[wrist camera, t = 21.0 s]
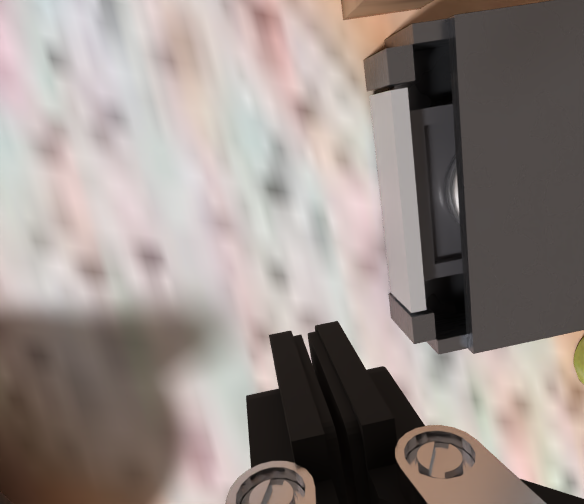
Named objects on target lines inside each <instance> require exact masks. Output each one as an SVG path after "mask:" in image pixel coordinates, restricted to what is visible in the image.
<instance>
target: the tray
mask: <svg viewBox="0 0 584 504" xmlns="http://www.w3.org/2000/svg"><path fill="white" fill-rule="evenodd" d="M369 97H370V106H371V116H372V125H373V134H374V144H375V153H376V162H377V172H378V181H379V191H380V200H381V209H382V219H383V228H384V238H385V247H386V256H387V266H388V275H389V284H390V292H391V293H392V294H393V295H394V296H395V297H396V298H397V299H398V300H399V301H400V302H401V303H402V304H403V305H404V306H405V307H406V308H407V309H408V310H409V311H410V312H411V313H414V312H419V311H424V310H426V299H425V287H424V281H425V280H430V279H435V278H440V277H445V276H450V275H455V274H460V273H463V267H462V251H461V234H460V225H459V224H458V223H457V222H456V221H455V220H454V219H453V217H452V216H451V214H450V212H449V210H448V208H447V205H446V202H445V197H444V181H445V175H446V171H447V169H448V166H449V164H450V162H451V160H452V158H453V156H454V155H455V153H456V152H455V135H454V119H453V103H452V104H446V105H440V106H434V107H428V108H421V109H415V110H409V99H408V88H402V89H396V90H390V91H386V92H382V93H378V94H374V95H370V96H369Z"/></svg>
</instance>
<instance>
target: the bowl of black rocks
mask: <svg viewBox="0 0 584 504" xmlns="http://www.w3.org/2000/svg"><path fill="white" fill-rule="evenodd" d="M0 504H13V503H12V502H11V501H10V500H9V499H8V498H7V497H6V496H5V495H4V494H3V493H2V492H0Z"/></svg>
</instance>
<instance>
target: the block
mask: <svg viewBox="0 0 584 504" xmlns="http://www.w3.org/2000/svg"><path fill="white" fill-rule="evenodd" d="M432 1H433V0H341V4H342V12H343V20H346V19H353V18H360V17H367V16H374V15H381V14H387V13H394V12H401V11H408V10H415V9H421V8H422V7H424V6H425V5H427V4H428V3H430V2H432Z"/></svg>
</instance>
